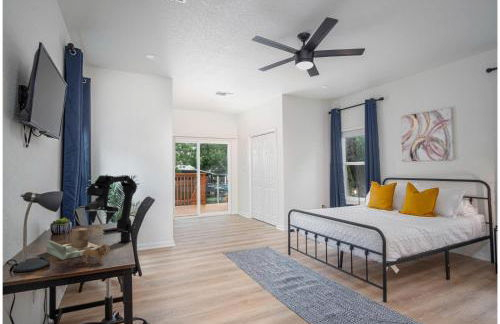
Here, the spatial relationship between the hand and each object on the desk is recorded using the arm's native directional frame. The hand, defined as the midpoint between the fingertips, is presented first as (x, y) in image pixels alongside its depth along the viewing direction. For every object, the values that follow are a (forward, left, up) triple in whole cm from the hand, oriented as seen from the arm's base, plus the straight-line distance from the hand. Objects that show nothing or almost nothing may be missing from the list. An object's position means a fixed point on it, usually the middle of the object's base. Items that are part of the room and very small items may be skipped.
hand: (99, 223), depth 169 cm
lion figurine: (+18, +10, -17) cm, 26 cm away
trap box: (+2, -13, -16) cm, 21 cm away
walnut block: (0, -12, -14) cm, 18 cm away
